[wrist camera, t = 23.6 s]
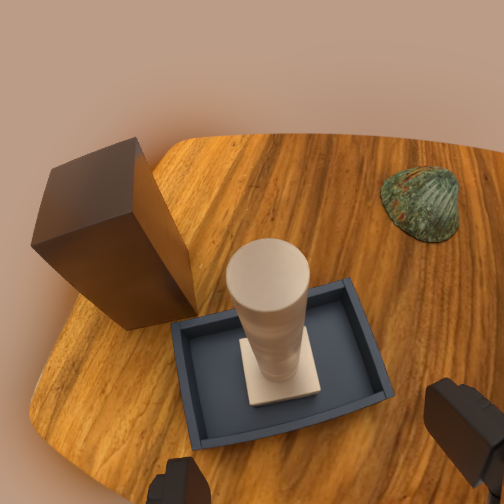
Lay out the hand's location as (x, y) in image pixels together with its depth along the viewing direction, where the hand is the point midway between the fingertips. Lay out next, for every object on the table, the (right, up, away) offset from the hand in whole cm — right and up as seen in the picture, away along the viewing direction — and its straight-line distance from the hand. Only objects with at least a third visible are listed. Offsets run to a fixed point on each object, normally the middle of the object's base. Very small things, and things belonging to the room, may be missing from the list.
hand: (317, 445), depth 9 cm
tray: (0, -3, +15) cm, 15 cm away
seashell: (+17, +11, +23) cm, 30 cm away
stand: (-11, +3, +20) cm, 23 cm away
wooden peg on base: (0, -3, +15) cm, 15 cm away
